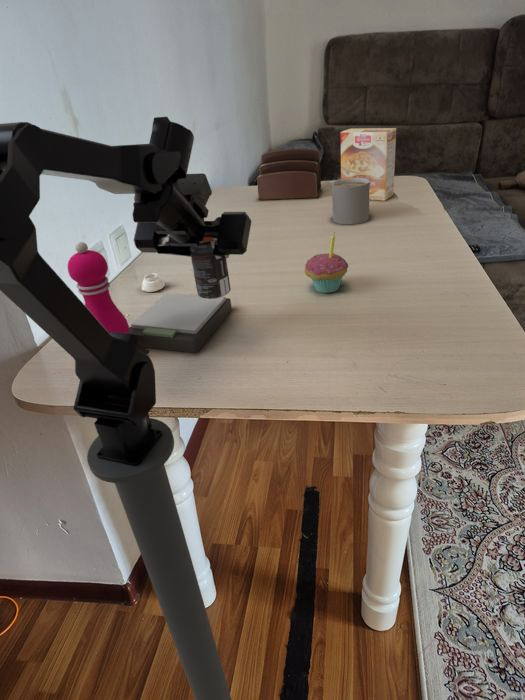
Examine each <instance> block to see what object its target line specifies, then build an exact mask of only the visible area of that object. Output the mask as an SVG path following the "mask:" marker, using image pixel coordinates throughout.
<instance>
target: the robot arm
mask: <svg viewBox="0 0 525 700" xmlns="http://www.w3.org/2000/svg"><path fill="white" fill-rule="evenodd" d="M194 141H195V137H194V133H193V132H192V130H191V129H190V128H189V129H188V128H187V127H185V126H184V125H182V124H180V123H178V122H174V121H171V120H170V119H169V117H168V116H156V117H153V121H152V128H151V134H150V138H149V143H139V144H138V143H137V144H136V143H135V144H121V145H120V144H119V145H109V144H104V143H102V142H97V141H93V140H89V139H85V138H81V137H78V136H73V135H69V134H65V133H60V132H57V131H54V130H49V129H44V128H41V127H40V126H38V125H35V124H33V123H31V122H28V121H18V122H6V123H0V292H1V293H2V294H4V296H6V298H8V299H9V300H10V301H11V302H12V303H13V304H14V305H15V306H16V307H18V308H19V309H20V310H21V312H23V313H24V314H25V315H26V316H28V317H29V318H30V319H31V320H32V321H33V322H34V323H35V324H36V325H37V326H38V327H39V328H40V329H41V330H42V331H44V332H45V333H46V334H47V335H48V336H49V337H50V338H51V339H52V340H53V341H54V342H56V343H57V344H58V345H59V346H60V348H62V349H63V350H64V351H65V352H66V353H67V354H68V355H69V356H71V357H72V359H73V360H74V374H75V375H76V377H77V378H78V379H79V383H78V387H77V392H76V395H75V399H74V404H73V410H74V412H76V414H78V416H79V417H81V418H90V419H96V420H95V422H94V423H93V424H94V427H95V430H96V433H97V435H98V436H99V438H100V441H101V443H102V446H103V447H102V448H101V450H100V451H99V452H98V453H97V457H98V458H99V459H103V460H107V461H112V462H117V463H122V464H126V465H131V466H139V465H140V464H141V462H142V461H143V460H144V458H145V457H146V456H147V454H148V453H149V452H150V450H151V449H152V448H153V446H154V445H155V444H156V442H157V441H158V440H159V438H160V437H161V436H162V431H160V430H155V429H151V427H152V425H151V421H150V418H151V417H150V414H149V413H150V412H151V410H152V409H153V408H154V406H155V405H156V403H157V394H156V391H157V390H156V371H155V366H154V363H153V361H152V359H151V357H150V356H149V355H148V354H149V353H150V352H151V351H150V349H149V348H146V347H143V346H142V344H141V342H140V340H139V339H138V338H137V337H136V336H135V335H134V334H129V333H117V332H108V331H107V330H106V329H105V328H104V327H103V325H102V324H101V323H100V322H99V321H98V320H97V319H96V317H95V316H94V315H93V314H92V313H91V312H90V311H89V310H88V308H87V307H86V305H85V303H84V302H83V301H82V300H81V299H80V298H79V297H78V296H77V295H76V294H75V292H74V291H73V290H72V288H71V287H69V286H68V284H67V283H65V281H64V280H63V279H62V278H61V276H60V275H59V274H58V273H57V272H56V271H55V270H54V269H53V268H52V267H51V265H50V264H49V263H48V261H46V260H45V259H44V257H42V255H41V254H40V253H39V248H38V235H37V228H36V225H35V223H34V222H33V220H32V219H31V217H30V215H31V214H32V212H33V211H34V209H35V208H36V206H37V205H38V203H39V201H40V199H41V175H44V176H52V177H60V178H67V179H73V180H83V181H89V182H92V183H93V184H95V185H96V187H97V188H98V189H101V190H103V191H106V192H107V193H111V194H114V195H134V196H133V199H134V200H133V201H134V202H133V211H132V220H133V222H134V223H136V227H135V232H134V236H133V244H134V246H135V248H136V249H137V250H139V251H140V252H141V253H149V254H156V253H157V254H158V255H167V256H168V255H169V256H179V257H189V258H191V254H190V247H191V246H199V243H202V242H203V241H204V237H212V239H213V240H214V241H215V244H214V249H213V255H215V256H219V257H224V258H226V259H229V258H230V255H234V256H236V255H239V256H242V255H244V254H245V253H246V252H247V251H248V245H249V239H250V238H249V237H250V233H251V226H252V219H251V218H250V216H249V215H248V214H247V212H246V211H223V212H222V213H221V216H218V217H216V218H215V219H214V220H205V219H206V218H208V216H209V211H210V210H209V209H208V207H207V204H208V202H209V199H210V197H211V196H212V194H213V191H212V188H211V186H210V183H209V180H208V176H207V174H205V173H188V169H189V166H190V160H191V157H192V156H191V155H192V151H193V145H194Z"/></svg>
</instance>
